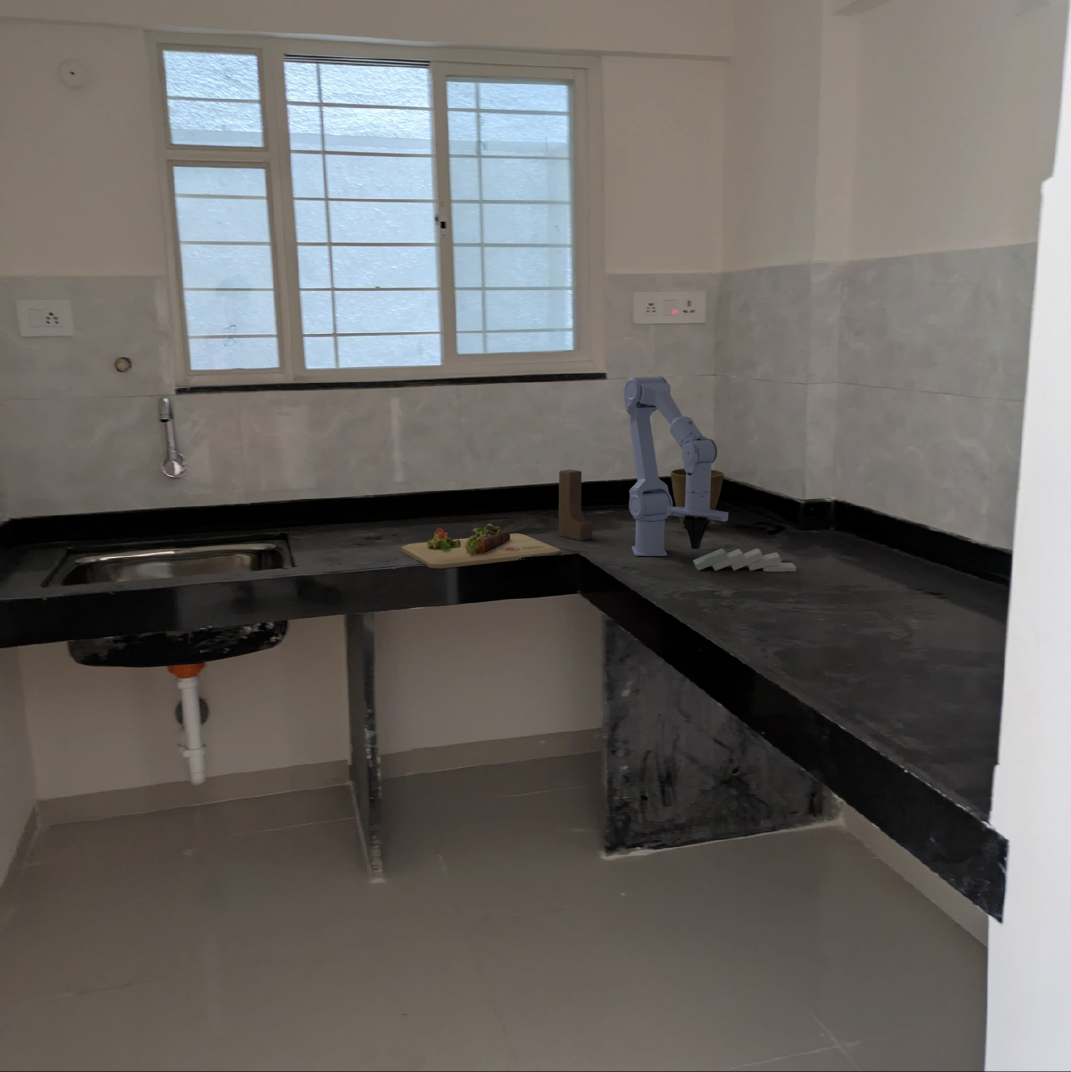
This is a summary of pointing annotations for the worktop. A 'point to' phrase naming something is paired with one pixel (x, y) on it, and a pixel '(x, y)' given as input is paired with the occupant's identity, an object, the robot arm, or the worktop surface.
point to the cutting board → (476, 548)
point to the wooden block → (572, 507)
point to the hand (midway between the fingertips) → (695, 548)
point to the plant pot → (680, 488)
